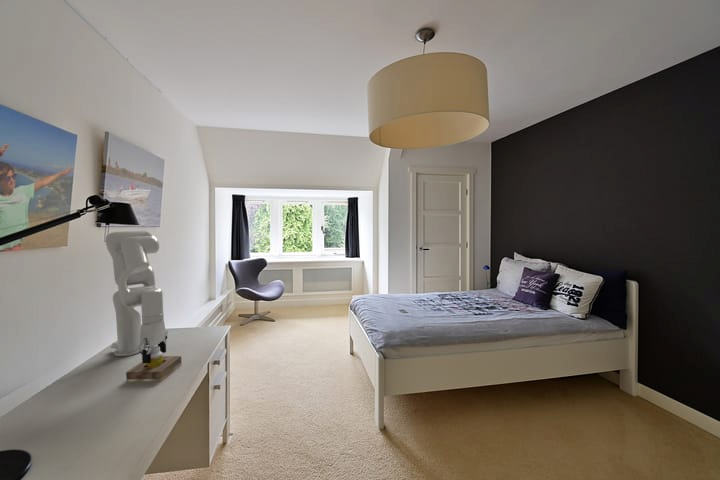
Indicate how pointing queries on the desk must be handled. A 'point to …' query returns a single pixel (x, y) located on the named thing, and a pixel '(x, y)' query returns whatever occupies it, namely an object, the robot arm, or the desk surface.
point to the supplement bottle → (155, 357)
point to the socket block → (153, 370)
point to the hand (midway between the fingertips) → (154, 357)
